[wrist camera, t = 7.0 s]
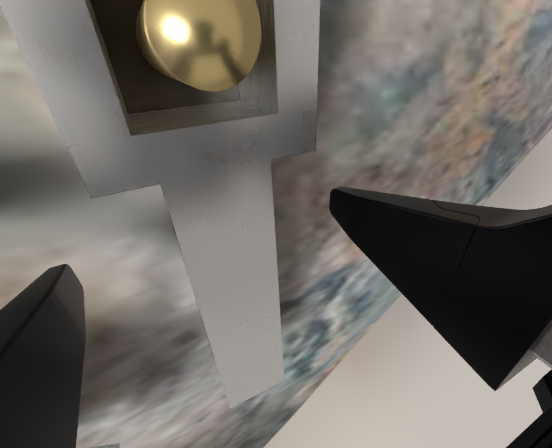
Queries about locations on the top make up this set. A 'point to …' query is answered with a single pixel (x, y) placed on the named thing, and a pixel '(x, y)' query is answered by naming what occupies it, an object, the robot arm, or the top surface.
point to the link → (193, 162)
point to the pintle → (200, 40)
